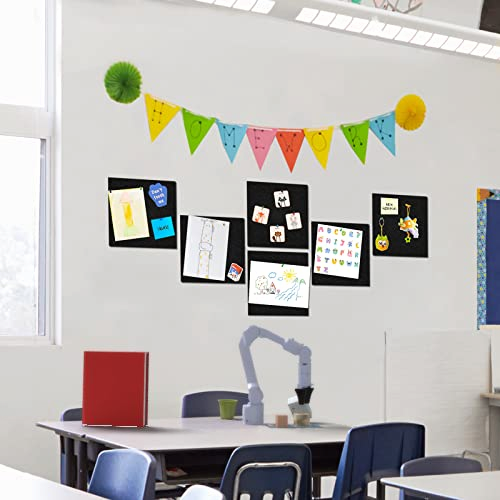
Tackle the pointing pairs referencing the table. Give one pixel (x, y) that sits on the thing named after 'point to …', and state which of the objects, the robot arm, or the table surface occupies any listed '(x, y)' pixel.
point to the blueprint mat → (294, 426)
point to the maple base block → (301, 419)
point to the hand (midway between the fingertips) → (304, 404)
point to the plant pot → (227, 408)
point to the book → (115, 388)
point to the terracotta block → (281, 421)
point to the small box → (298, 406)
